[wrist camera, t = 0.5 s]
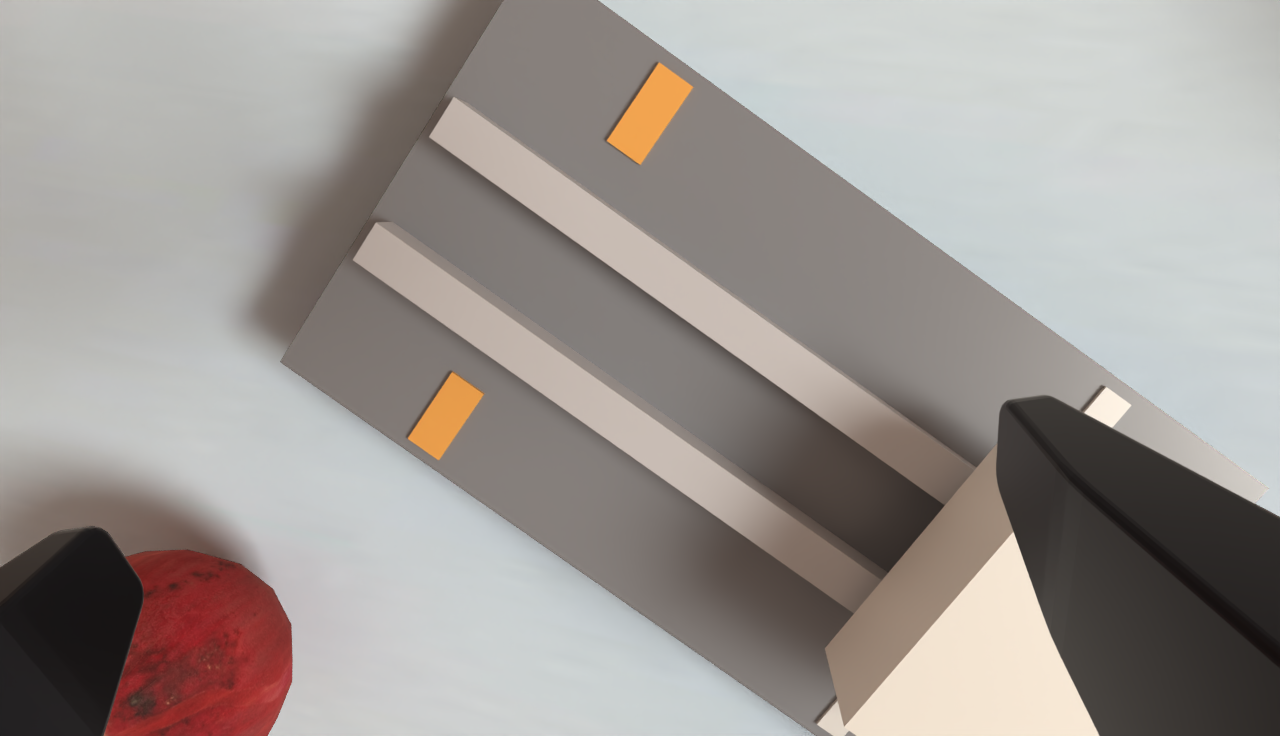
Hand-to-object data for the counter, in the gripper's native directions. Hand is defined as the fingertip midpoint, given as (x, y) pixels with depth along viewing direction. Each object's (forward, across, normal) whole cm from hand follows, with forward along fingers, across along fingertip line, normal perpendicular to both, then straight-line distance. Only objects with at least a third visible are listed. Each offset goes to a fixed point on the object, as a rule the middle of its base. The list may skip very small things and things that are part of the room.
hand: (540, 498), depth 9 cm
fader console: (+12, -3, +8) cm, 14 cm away
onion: (+10, +12, +11) cm, 20 cm away
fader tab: (+8, -7, +11) cm, 15 cm away
